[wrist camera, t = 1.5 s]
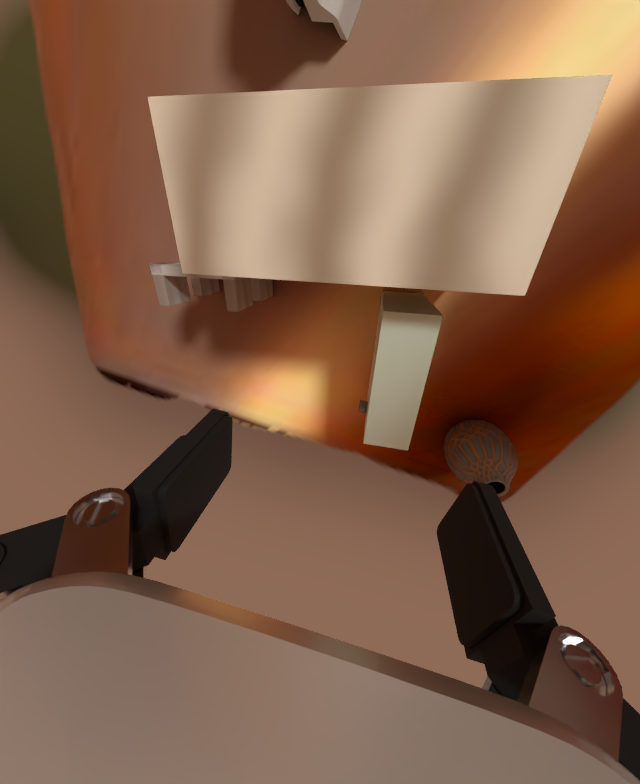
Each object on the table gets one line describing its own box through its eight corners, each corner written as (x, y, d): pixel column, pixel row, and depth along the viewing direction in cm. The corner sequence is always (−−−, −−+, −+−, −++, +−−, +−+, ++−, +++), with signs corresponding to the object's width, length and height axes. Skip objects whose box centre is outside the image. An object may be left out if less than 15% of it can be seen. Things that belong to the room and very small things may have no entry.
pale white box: (422, 293, 27) (443, 315, 18) (400, 396, 33) (407, 450, 24) (374, 290, 27) (371, 310, 19) (361, 391, 33) (354, 442, 25)
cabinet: (490, 164, 21) (612, 74, 10) (451, 309, 27) (501, 354, 16) (193, 165, 25) (44, 101, 14) (212, 291, 31) (116, 317, 20)
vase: (455, 462, 36) (475, 520, 28) (428, 426, 34) (442, 478, 26) (510, 441, 32) (549, 500, 25) (484, 400, 31) (518, 451, 23)
